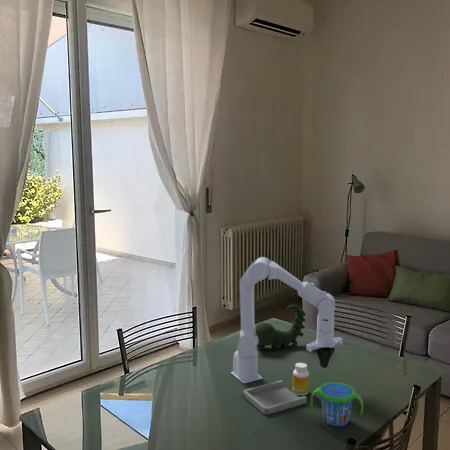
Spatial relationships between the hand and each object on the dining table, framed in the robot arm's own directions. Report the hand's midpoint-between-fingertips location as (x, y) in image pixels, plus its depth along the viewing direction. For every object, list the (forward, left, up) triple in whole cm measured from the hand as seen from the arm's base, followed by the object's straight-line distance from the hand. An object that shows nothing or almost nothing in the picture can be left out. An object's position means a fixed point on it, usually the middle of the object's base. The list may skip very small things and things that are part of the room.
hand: (323, 366), depth 176 cm
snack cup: (+20, -12, -7) cm, 24 cm away
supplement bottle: (0, -10, -7) cm, 12 cm away
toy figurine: (-36, +5, -7) cm, 37 cm away
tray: (0, -21, -7) cm, 22 cm away
